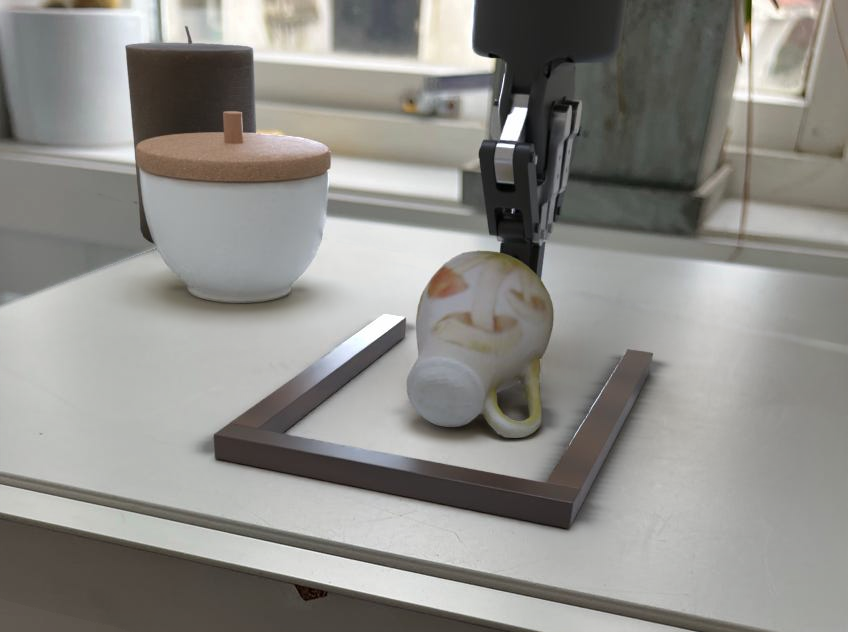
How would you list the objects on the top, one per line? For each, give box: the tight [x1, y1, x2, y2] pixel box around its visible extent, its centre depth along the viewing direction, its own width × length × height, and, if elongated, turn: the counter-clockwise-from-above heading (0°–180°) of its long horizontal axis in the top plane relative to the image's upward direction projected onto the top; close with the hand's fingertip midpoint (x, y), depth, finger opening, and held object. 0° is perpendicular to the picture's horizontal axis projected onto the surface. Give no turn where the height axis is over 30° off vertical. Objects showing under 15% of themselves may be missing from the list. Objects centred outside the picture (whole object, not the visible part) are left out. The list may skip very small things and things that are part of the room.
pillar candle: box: [124, 25, 257, 245], centre depth 79 cm, size 10×10×15 cm
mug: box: [406, 250, 555, 439], centre depth 52 cm, size 8×10×10 cm
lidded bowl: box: [134, 111, 332, 304], centre depth 67 cm, size 13×13×11 cm
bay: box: [213, 313, 654, 530], centre depth 52 cm, size 22×16×1 cm
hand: (516, 309), depth 58 cm, fingers closed
